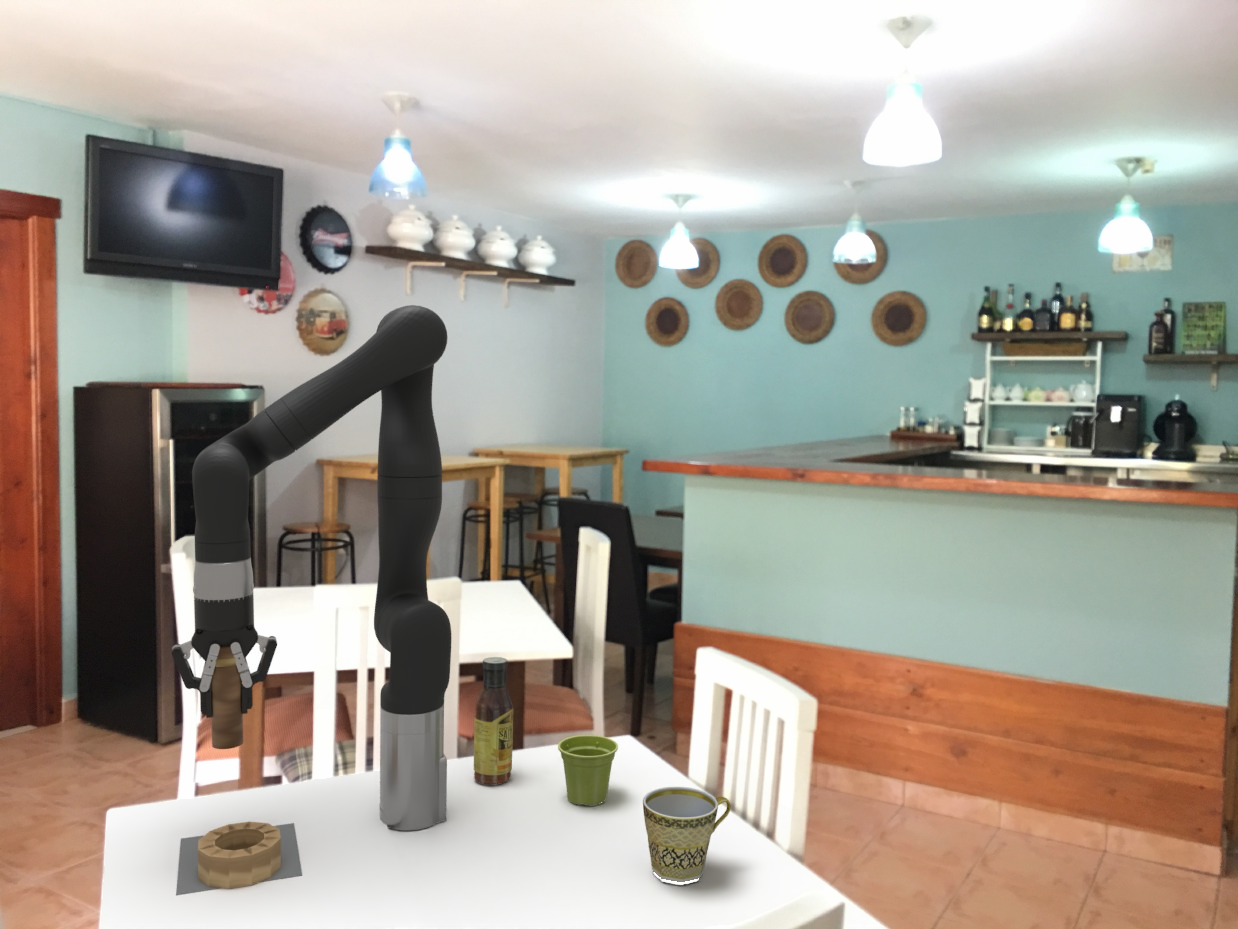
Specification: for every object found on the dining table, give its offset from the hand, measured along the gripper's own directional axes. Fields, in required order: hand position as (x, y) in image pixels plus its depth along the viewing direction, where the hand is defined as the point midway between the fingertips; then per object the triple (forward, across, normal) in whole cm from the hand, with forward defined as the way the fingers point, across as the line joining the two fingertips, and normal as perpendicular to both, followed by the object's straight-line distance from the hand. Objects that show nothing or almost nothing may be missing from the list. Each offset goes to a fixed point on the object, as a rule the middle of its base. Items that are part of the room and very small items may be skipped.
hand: (226, 713), depth 136 cm
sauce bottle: (+19, -40, -10) cm, 46 cm away
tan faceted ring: (+18, -1, +9) cm, 20 cm away
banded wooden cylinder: (+4, 0, 0) cm, 4 cm away
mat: (+19, -1, +6) cm, 19 cm away
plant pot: (+19, -52, +2) cm, 56 cm away
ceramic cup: (+19, -57, +28) cm, 67 cm away
